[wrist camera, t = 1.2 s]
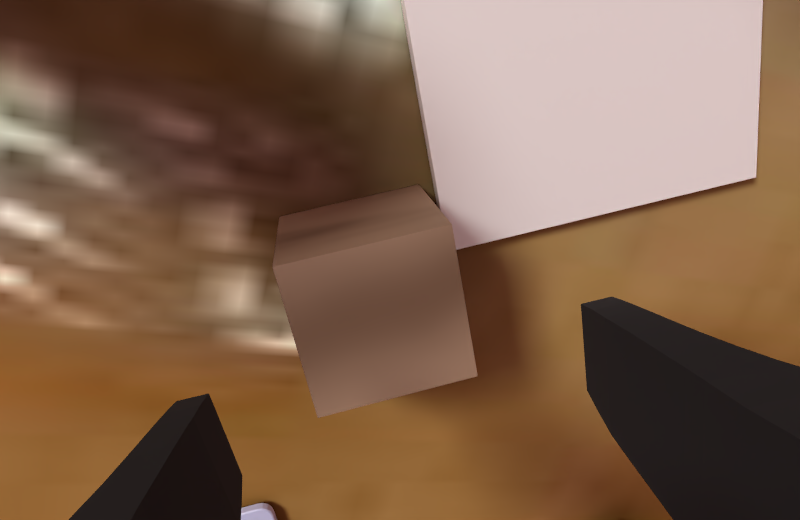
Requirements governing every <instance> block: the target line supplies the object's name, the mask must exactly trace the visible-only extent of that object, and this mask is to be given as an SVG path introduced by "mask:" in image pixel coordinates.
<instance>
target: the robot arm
mask: <svg viewBox="0 0 800 520" xmlns="http://www.w3.org/2000/svg"><path fill="white" fill-rule="evenodd" d="M581 311H582V325H583V339H584V353H585V367H586V381H587V391H588V393H589V395H590V397H591V398H592V400H593V402H594V404H595V406H596V408H597V410H598V412H599V414H600V415H601V417H602V419H603V421H604V422H605V424H606V426H607V428H608V430H609V431H610V433H611V435H612V436H613V438H614V439H615V440H616V442H617V443H618V445H619V446H620V447H621V449H622V450H623V452H624V453H625V454H626V456H627V457H628V458H629V460H630V461H631V463H632V464H633V465H634V467H635V468H636V469H637V471H638V472H639V474H640V475H641V476H642V478H643V479H644V480H645V482H646V483H647V484H648V486H649V487H650V488H651V490H652V491H653V493H654V494H655V495H656V497H657V498H658V499H659V501H660V502H661V503H662V505H663V506H664V508H665V509H666V510H667V512H668V513H669V514H670V516H671V517H672V518H673V520H800V367H799V366H795V365H792V364H789V363H786V362H782V361H779V360H776V359H773V358H770V357H767V356H764V355H761V354H758V353H756V352H753V351H750V350H747V349H744V348H741V347H738V346H735V345H733V344H730V343H727V342H725V341H722V340H719V339H717V338H714V337H712V336H709V335H706V334H704V333H701V332H699V331H696V330H694V329H691V328H689V327H686V326H684V325H682V324H679V323H677V322H674V321H672V320H669V319H667V318H665V317H662V316H660V315H657V314H655V313H653V312H650V311H648V310H645V309H643V308H641V307H638V306H636V305H633V304H631V303H628V302H626V301H623V300H620V299H617V298H614V297H608V298H604V299H600V300H596V301H592V302H588V303H583V304H581ZM241 505H242V474H241V471H240V469H239V466H238V464H237V461H236V459H235V457H234V454H233V452H232V449H231V447H230V444H229V442H228V439H227V437H226V434H225V432H224V430H223V427H222V425H221V422H220V420H219V417H218V415H217V412H216V410H215V407H214V405H213V403H212V400H211V398H210V395H209V394H205V395H201V396H197V397H192V398H188V399H184V400H180V401H176V402H175V403H174V404H173V405H172V406H171V407H170V408H169V409H168V410H167V412H166V413H165V414H164V415H163V416H162V417H161V418H160V419H159V420H158V422H157V423H156V424H155V425H154V426H153V427H152V428H151V429H150V431H149V432H148V433H147V434H146V435H145V436H144V438H143V439H142V440H141V441H140V442H139V443H138V444H137V446H136V447H135V448H134V449H133V450H132V451H131V452H130V454H129V455H128V456H127V457H126V458H125V459H124V460H123V462H122V463H121V464H120V465H119V466H118V467H117V468H116V469H115V471H114V472H113V473H112V474H111V475H110V476H109V477H108V479H107V480H106V481H105V482H104V483H103V484H102V485H101V486H100V487H99V488H98V489H97V490H96V491H95V493H94V494H93V495H92V496H91V497H90V498H89V499H88V500H87V501H86V502H85V503H84V504H83V505H82V506H81V507H80V508H79V509H78V510H77V511H76V512H75V514H74V515H73V516H72V517H71V518H70V519H69V520H277V518H276V515H275V512H274V509H273V508H272V506H270V505H269V504H266V503H258V504H254V505H251V506H247V507H243V508H241Z"/></svg>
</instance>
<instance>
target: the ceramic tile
mask: <svg viewBox="0 0 800 520" xmlns="http://www.w3.org/2000/svg"><path fill="white" fill-rule="evenodd" d="M401 5H402V11H403V17H404V22H405V28H406V34H407V39H408V45H409V51H410V56H411V62H412V68H413V73H414V79H415V85H416V90H417V96H418V101H419V107H420V113H421V118H422V124H423V130H424V135H425V141H426V147H427V152H428V158H429V164H430V169H431V175H432V180H433V186H434V192H435V197H436V203H437V207H438V208H439V209H440V210H441V212H442V213H443V214H444V215H445V216H446V218H447V219H448V220H449V221H450V222H451V224H452V228H453V234H454V239H455V245H456V250H458V249H462V248H466V247H470V246H474V245H478V244H482V243H487V242H491V241H495V240H499V239H503V238H507V237H511V236H516V235H520V234H524V233H528V232H532V231H536V230H540V229H544V228H549V227H553V226H557V225H561V224H565V223H569V222H573V221H578V220H582V219H586V218H590V217H594V216H598V215H602V214H606V213H611V212H615V211H619V210H623V209H627V208H631V207H635V206H640V205H644V204H648V203H652V202H656V201H660V200H664V199H669V198H673V197H677V196H681V195H685V194H689V193H693V192H697V191H702V190H706V189H710V188H714V187H718V186H722V185H726V184H731V183H735V182H739V181H743V180H747V179H751V178H755V177H756V167H757V141H758V115H759V89H760V63H761V36H762V10H763V0H401Z"/></svg>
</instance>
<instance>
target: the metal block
mask: <svg viewBox="0 0 800 520" xmlns="http://www.w3.org/2000/svg"><path fill="white" fill-rule="evenodd" d="M273 270H274V274H275V277H276V280H277V284H278V287H279V290H280V294H281V297H282V300H283V304H284V307H285V310H286V314H287V317H288V320H289V323H290V327H291V330H292V333H293V337H294V340H295V343H296V347H297V350H298V353H299V357H300V360H301V363H302V367H303V370H304V373H305V377H306V380H307V383H308V386H309V390H310V393H311V396H312V400H313V403H314V406H315V410H316V413H317V416H318V418H319V417H323V416H327V415H331V414H334V413H338V412H342V411H346V410H350V409H354V408H357V407H361V406H365V405H369V404H373V403H377V402H380V401H384V400H388V399H392V398H396V397H400V396H404V395H407V394H411V393H415V392H419V391H423V390H427V389H430V388H434V387H438V386H442V385H446V384H450V383H453V382H457V381H461V380H465V379H469V378H473V377H476V376H478V375H477V369H476V363H475V357H474V351H473V346H472V340H471V334H470V328H469V322H468V316H467V310H466V304H465V298H464V292H463V287H462V281H461V275H460V269H459V263H458V257H457V251H456V245H455V239H454V234H453V228H452V224H451V222H450V221H449V220H448V219H447V218H446V216H445V215H444V214H443V213H442V212H441V210H440V209H439V208H438V207H437V206H436V204H435V203H434V202H433V201H432V200H431V198H430V197H429V196H428V195H427V194H426V192H425V191H424V190H423V189H422V188H421V186H420V185H419V184H418V185H414V186H409V187H405V188H401V189H396V190H392V191H388V192H383V193H379V194H375V195H371V196H366V197H362V198H358V199H353V200H349V201H345V202H340V203H336V204H332V205H328V206H323V207H319V208H315V209H310V210H306V211H302V212H297V213H293V214H289V215H284V216H280V217H279V223H278V230H277V238H276V245H275V252H274V260H273Z"/></svg>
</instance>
